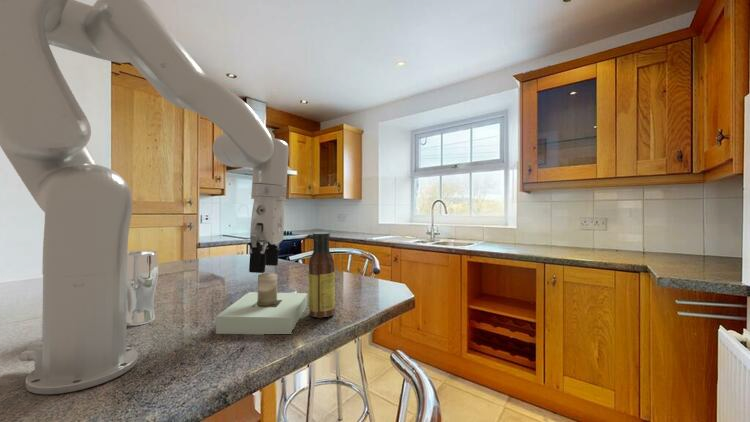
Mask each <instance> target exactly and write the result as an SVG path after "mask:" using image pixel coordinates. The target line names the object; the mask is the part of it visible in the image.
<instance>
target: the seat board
mask: <svg viewBox="0 0 750 422" xmlns="http://www.w3.org/2000/svg"><path fill="white" fill-rule="evenodd" d="M257 301H258V291H249V292H247V293H246V294H244V295H243V296H241V298H239V299H237V300H236V301H235V302H233V303H232V304H231V305H229V306H228V307H227V308H226V309H224V310H223V311H222V312H220V313H219V314H217V315H216V316H215V335H221V334H223V335H264V334H291V335H292V333H293V332H292V330H293V329H294V330H295V328H296V326H297V325H296V323H297V322H298V323H299V321H300V320H299V318H300V317H302V316H303V315H302V313H303V312H304V313H305V311H306V309H307V308H306V306H307V307H308V293H307V292H277V304H276V305H275V307H259V306H258V305H257ZM305 308H306V309H305ZM304 310H305V311H304ZM304 313H303V314H304ZM301 315H302V316H301ZM300 319H301V318H300ZM298 320H299V321H298ZM298 323H297V324H298ZM295 325H296V326H295ZM294 327H295V328H294ZM294 330H293V331H294ZM291 332H292V333H291Z"/></svg>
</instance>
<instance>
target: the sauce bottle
mask: <svg viewBox="0 0 750 422" xmlns="http://www.w3.org/2000/svg"><path fill="white" fill-rule="evenodd" d="M330 235H331V233H330V232H327V231H325V232H324V231H323V232H322V231H321V232H317V231H316V232H313V233H312V240H313V248H312V254H311V256H310V258H309V260H308V310H309V315H310V317H312V316H313V317H312V318H314V317H319V318H318V319H323V318H322V317H328V316H331V315H333V314H334V315H335V311H336V293H335V292H336V289H335V288H336V285H335V284H336V281H335V280H336V276H335V275H336V272H335V260H334V259H333V256H332V254H331V251H330V238H331V236H330ZM334 315H333V316H334ZM331 317H332V316H331ZM328 318H329V317H328Z"/></svg>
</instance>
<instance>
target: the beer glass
mask: <svg viewBox="0 0 750 422" xmlns="http://www.w3.org/2000/svg"><path fill="white" fill-rule="evenodd" d="M158 278H159V259H158V251H156V250H135V251H133V250H132V251H127V322H126V327H136V326H141V325H146V324H149V323H152V322H153V321H154V320H155V319H156V314H155V310H154V297H155V293H156V289H157V286H158Z"/></svg>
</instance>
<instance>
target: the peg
mask: <svg viewBox="0 0 750 422" xmlns="http://www.w3.org/2000/svg"><path fill="white" fill-rule="evenodd" d="M257 292H258V301H257V305H258V306H259V307H275V305H276V304H277V293H278V274H277V273H271V272H270V273H259V274H258V275H257Z"/></svg>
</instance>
